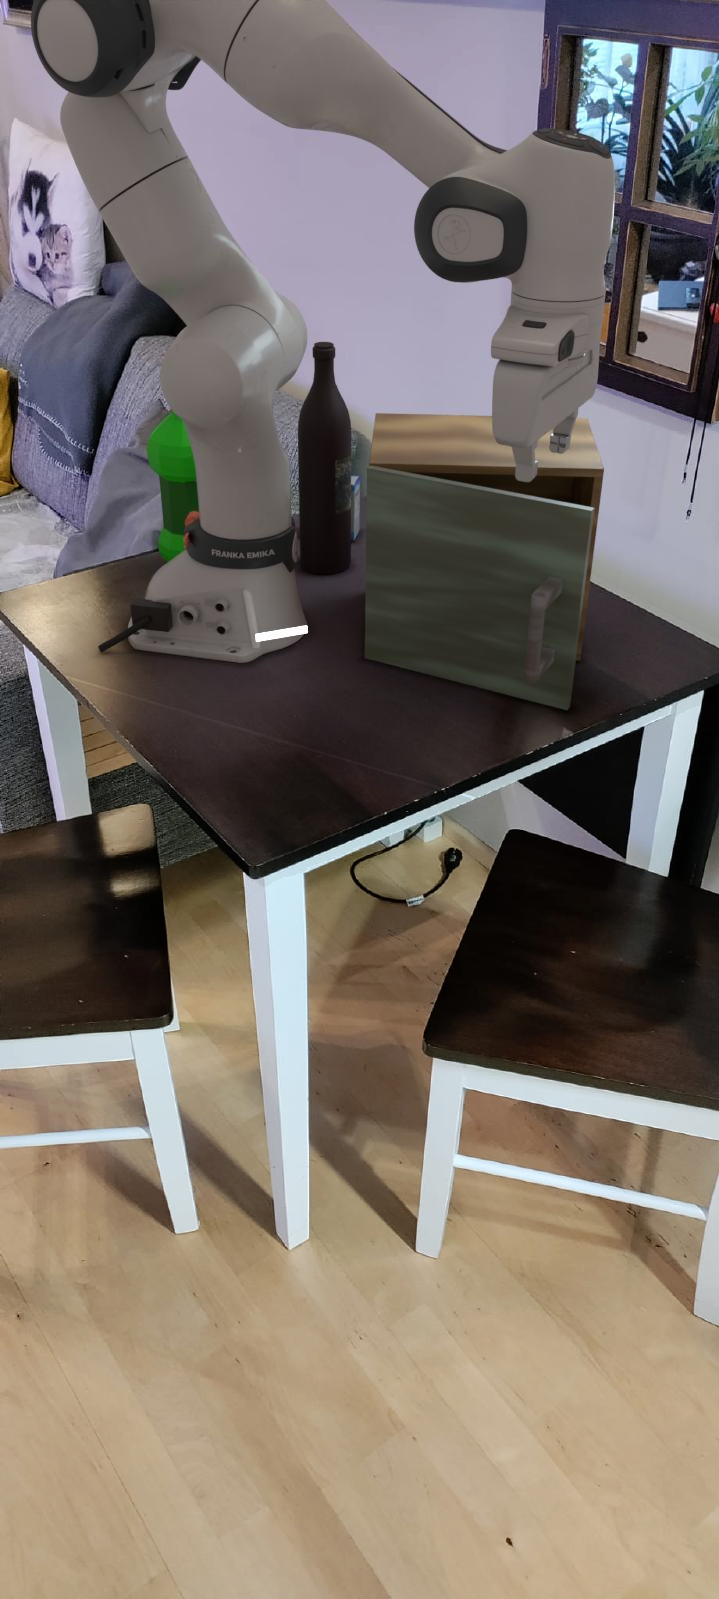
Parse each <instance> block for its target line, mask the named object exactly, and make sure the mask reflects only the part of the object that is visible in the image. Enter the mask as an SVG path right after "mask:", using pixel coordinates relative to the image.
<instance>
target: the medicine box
mask: <svg viewBox="0 0 719 1599" xmlns="http://www.w3.org/2000/svg"><path fill="white" fill-rule="evenodd" d="M360 498H361V476H360V475H351V542H355V540H356V538H357V536H358V534H359V532H360V509H361V508H360V506H361V504H360V503H361V502H360V501H361V500H360Z"/></svg>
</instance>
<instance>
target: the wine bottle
mask: <svg viewBox="0 0 719 1599" xmlns="http://www.w3.org/2000/svg"><path fill="white" fill-rule="evenodd" d="M312 358H313V362H314V363H313V366H314V367H313V369H314V372H313V380H312V384H311V387H310V389H309V391H308V393H307V395H306V397H305V398H304V401H303V402H302V406H301V408H300V411H299V416H298V421H297V463H298V466H297V467H298V468H297V469H298V471H297V472H298V513H299V514H298V515H299V554H300V555H299V561H300V565H301V568H302V569H303V570H304V571H307V572H308V573H312V574H317V575H335V574H340V573H343V572H345V571H346V570H348V569H349V568H350V565H351V563H352V562H351V561H352V541H351V476H352V420H351V417H350V411H349V409H348V406H347V404H346V402H345V400H344V398H343V396H342V394H341V392H340V391H339V390H340V389H339V388H338V385H337V383H336V377H335V362H334V361H335V358H336V347H335V344H334V343H333V342H330V341H317V342H315V343H314V344H313V347H312Z"/></svg>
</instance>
